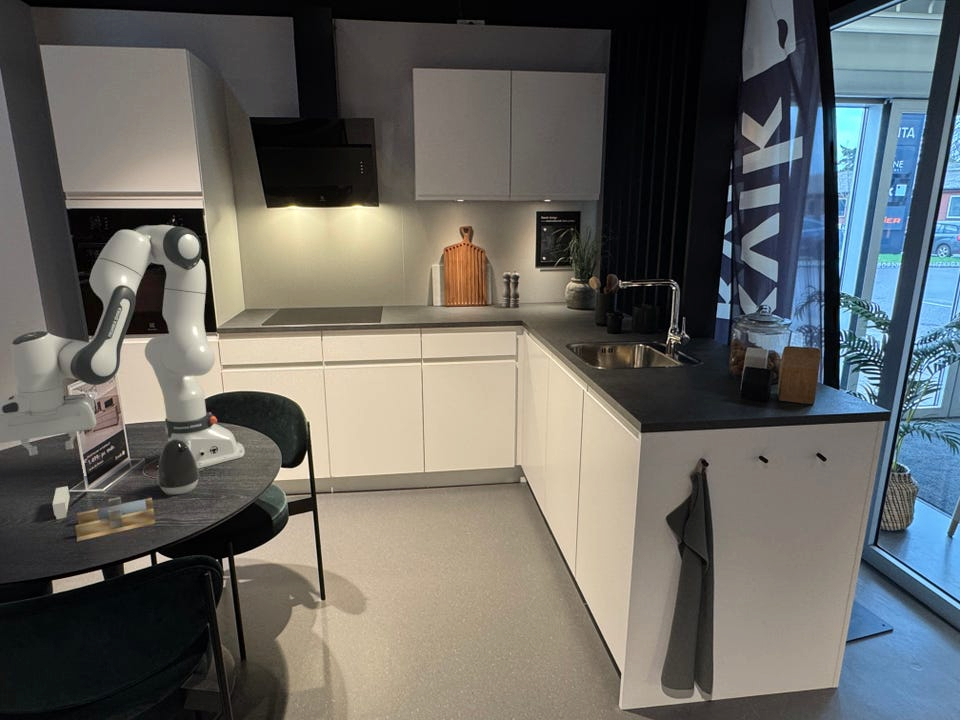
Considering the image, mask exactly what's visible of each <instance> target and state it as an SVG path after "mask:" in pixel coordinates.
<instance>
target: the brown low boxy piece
mask: <svg viewBox="0 0 960 720" xmlns="http://www.w3.org/2000/svg"><path fill="white" fill-rule="evenodd" d="M121 499H122V497H121V496H118V497H114V498H109V499H108V507H111V506H115V505H120V504H122V500H121ZM144 499H145V502H146V509H147V510H144V511H139V512H135V513H130V514H125V515H121V508H117V509H113V510H108V514H109V518H107V519H102V520H99V518H98V509H101V508H102V507H100V508H96V509H92V510H86V511H81V512H77V514H76V516H77V520H78V521H77V522H78V524H76V525H75V531H76V538H77V539H76V542H80V541H85V540H90V539H94V538H98V537H102V536H107V535H110V534H111V535H112V534H115V533H119V532H123V531H128V530H132V529H133V530H134V529H136V528H141V527H142V528H143V527H146V526H150V525H154V524H156V518H155V513H154V512H155V511H154V503H153V498H152V497H149V498H143V499H142V500H144ZM135 501H136V500H135ZM135 501H133V502H135ZM137 501H139V500H137ZM130 502H131V501H129V502H128V503H130ZM125 503H126V502H124V503H123V504H125ZM106 507H107V506H106ZM106 507H105V506H104V508H106Z"/></svg>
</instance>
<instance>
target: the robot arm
mask: <svg viewBox="0 0 960 720" xmlns="http://www.w3.org/2000/svg"><path fill="white" fill-rule="evenodd" d="M201 257H202V245H201V240H200V239H199V236H198V234H196V232H195V231H193V230H191V229H190V228H186V227H183V226H174V225H169V224H158V225H148V224H146V225H141V226H138V227H136V228H134V229H132V230H131V229H120V230H118V231H116V232H115V233H114V234H113V236H111V238H110V239H109V240H108V241H107V243H106V244H105V246H104V247H103V248H102V250H101V251H100V253H99V255H98V257H97V259H96V261H95V263H94V265H93V267H92V269H91V272H90V275H89V285H90V288H91V289H92V291H93V293H94V294H95V295H96V296H97V297H98V298H99V299H100V300H101V302H102V304H103V310H102V314H101V317H100V319H99V322H98V324H97V328H96V330H95V333H94V336H93V337H92V339H91V340H90V341H88V342H87V341H84V340H79V339H78V340H77V339H70V338H65V337H60V336H58V335H54V334H51V333H50V332H48V331H44V330H42V331H33V332H32V331H31V332H28V333H25V334H22V335H19V336H17V337H15V339H14V340H13V341H12V342H11V346H10V355H11V357H10V358H11V363H12V370H13V375H14V376H15V378H16V379H17V387H16V390H17V393H15V394H13V395H11V396H7V397H4V398H3V399H1V400H0V444H3V443H9V442H17V441H20V443H21V445H22V446H23V447H24V448H26V450H28V454H29V456H36V455H38V453H39V450H38V447H37V445H35V446H32V445H31V443H29V442H30V440H31V439H35V438H44V437H48V436H49V437H50V436H56V435H57V436H58V435H63V434H68V436H69V437H70V439H69V440H67V441H65V443H64V445H65V449H66V450H73V449H74V441H75V438H76V436H77V432H81V431H88V430H89V431H90V430H93V429H95V427H96V426H97V417H96V413H95V412H94V408H95V406H96V404H95V399H94V396H92V395H90V394H87V393H79V394H70V395H69V394H68V395H65V393H64V387H63V381H64V380H65V379H69V378H70V379H73V380H77V381H80V382H83V383H85V384H87V385H91V386H98V385H103V384H105V383H108V382H109V381H110V380H112V379H113V378H115V376H116V374H117V373H118V372H119V369H120V364H121V350H122V346H123V342H124V340H125V337H126V333H127V332H128V328H129V326H130V323H131V320H132V317H133V314H134V311H135V308H136V303H137V302H136V301H137V291H138V289H139V286H140V283H141V282H142V281H141V280H142V279H143V278H144V274H145V272H146V270H147V268H148V266H149V265H150V264H156V265H163V267H164V269H165V273H166V276H165V277H166V278H165V282H164V289H163V290H164V292H163V301H162V317H163V320H165V322H166V325H167V331H168V334H163V335H158V336H155V337H153V338H151V339H149V340H148V342H147V343H146V345H145V348H144V357H145V358H146V360H147V362H148V363H149V364H150V365H151V367H152V369H153V371H154V374H155V376H156V379H157V381H158V384H159V386H160V390H161V392H162V396H163V403H164V409H165V416H166V418H165V419H164V420H165V423H164V425H165V427H164V428H165V432H166V436H167V441H168V442H169V441H171V440H181V441H183V442H184V443H185V444H186V445H187V446H188V448H189V449H190V451H191V453H192V455H193V457H194V459H195V461H196V464H197V467H198V470H199V469H203V468H205V467H206V468H207V467H210V466H214V465H218V464H221V463H225V462H229V461H233V460H237V459H239V458H243V457H244V455H245V447H244V445H243V444H242V443H240V442H238V441H236V438H235V436H234V434H233V432H232V431H230V429H227V428H226V427H223V426H221V425H219V424H218V423H217V422H218V419H217V417H216V416H215V415H214V414H212V412H210V411H209V412H207V408H206V398H205V392H204V389H203V387H202V385H201V384H200V382H199V381H198V379H197V377H199V376H204V375H206V374H208V373H209V372H210V371H211V370H212V368H213V367H214V364H215V361H216V360H215V359H216V357H215V356H216V355H215V352H214V350H213V349H212V348H211V346H210V344H209V342H208V338H207V333H206V329H205V328H206V326H205V304H206V294H207V272H206V265H205V263H204V260H203V259H201ZM168 442H167V443H168Z"/></svg>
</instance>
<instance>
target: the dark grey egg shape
mask: <svg viewBox="0 0 960 720" xmlns="http://www.w3.org/2000/svg"><path fill="white" fill-rule="evenodd" d="M199 478H200V472H199V469H198V467H197V464H196V461H195V459H194V457H193V455H192V453H191V451H190V449H189V448H188V446H187V445H186V444H185V443H184V442H183V441H181V440H171V441H169V442H166V443H165V444H164V446H163V448H162V450H161V453H160V457H159V461H158V467H157V485H158V486H159V487H160V489H161V491H163V493H165V494H166V495H171V496H173V495H174V496H175V495H181V494H182V495H183V494H185V493H189V492H191V491H193V490H194V489H195V488H196V486H197V485H198V483H199Z"/></svg>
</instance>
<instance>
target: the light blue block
mask: <svg viewBox="0 0 960 720" xmlns="http://www.w3.org/2000/svg"><path fill="white" fill-rule="evenodd" d="M143 499H144V500H143ZM143 499H140V500H139V501H138V500H135V502H134V501H129V502H130V503H129V502H124V503H125V504H124V503H121V504H120V505H115V506H111V507H109V506H106V508H105V507H100V508H101V509H100V508H97V509H98V518H99V520H102V519H107V518H109V514H108V510H113V509H117V508H121V515H125V514H130V513H135V512H139V511H144V510H147V509H146V502H145V499H146V498H143Z"/></svg>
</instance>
